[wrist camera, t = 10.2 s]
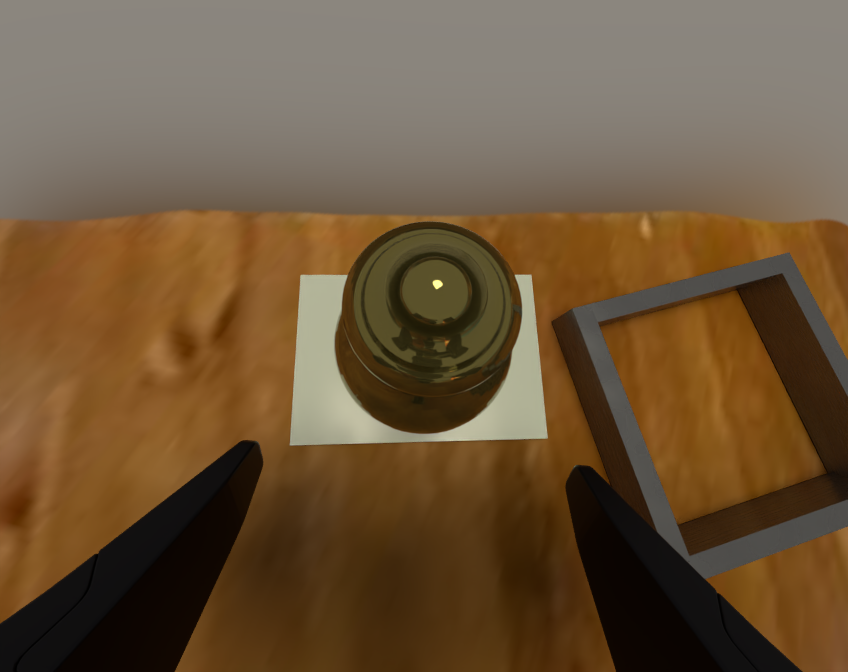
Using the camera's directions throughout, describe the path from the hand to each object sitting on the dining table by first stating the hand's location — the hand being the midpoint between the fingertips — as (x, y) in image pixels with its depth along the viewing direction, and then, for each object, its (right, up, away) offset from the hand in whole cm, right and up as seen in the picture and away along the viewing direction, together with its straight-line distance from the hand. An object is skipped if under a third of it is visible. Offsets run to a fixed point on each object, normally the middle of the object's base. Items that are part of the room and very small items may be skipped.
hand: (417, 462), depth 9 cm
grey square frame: (+16, 0, +9) cm, 18 cm away
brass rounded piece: (0, +2, +8) cm, 9 cm away
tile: (0, +2, +9) cm, 9 cm away
